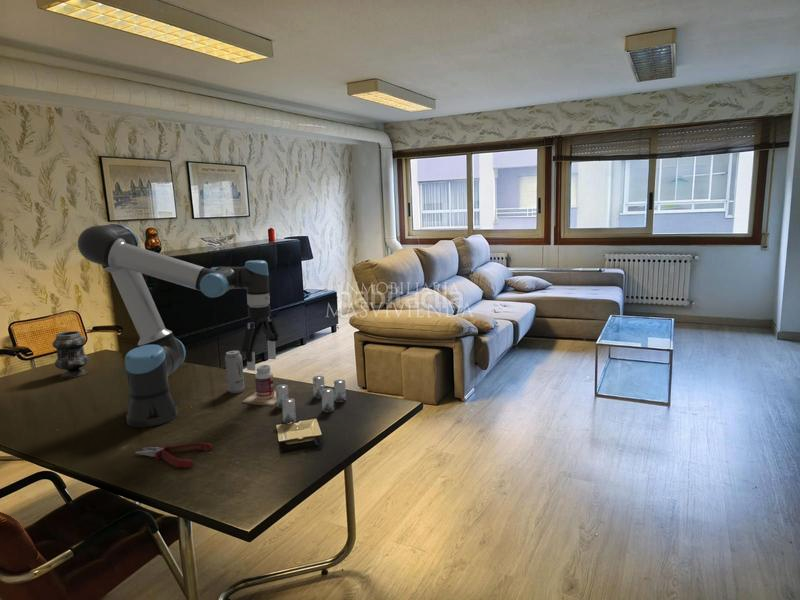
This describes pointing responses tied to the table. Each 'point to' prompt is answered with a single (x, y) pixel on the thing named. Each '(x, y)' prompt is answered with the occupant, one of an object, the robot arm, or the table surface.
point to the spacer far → (318, 385)
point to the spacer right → (327, 399)
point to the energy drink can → (234, 371)
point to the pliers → (168, 450)
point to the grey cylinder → (339, 390)
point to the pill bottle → (264, 382)
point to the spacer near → (289, 410)
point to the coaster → (261, 400)
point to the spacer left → (281, 394)
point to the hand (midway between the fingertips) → (262, 364)
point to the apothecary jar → (70, 353)
